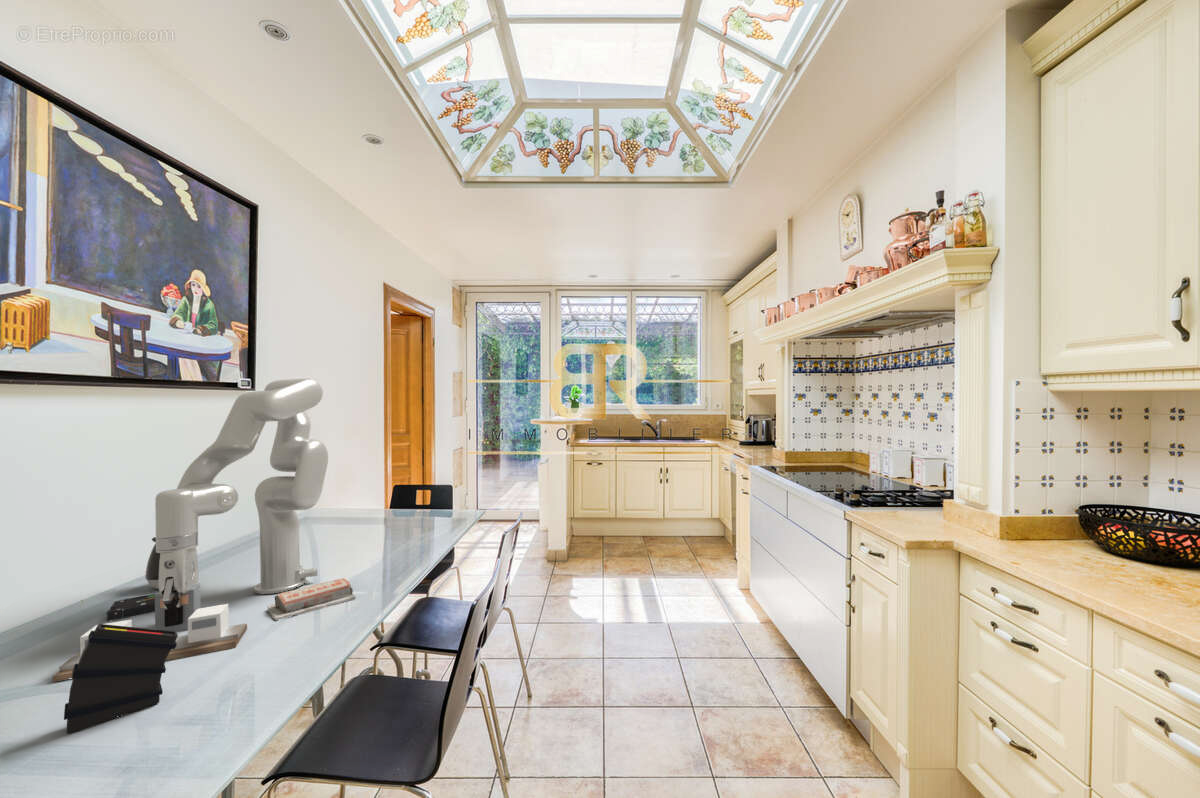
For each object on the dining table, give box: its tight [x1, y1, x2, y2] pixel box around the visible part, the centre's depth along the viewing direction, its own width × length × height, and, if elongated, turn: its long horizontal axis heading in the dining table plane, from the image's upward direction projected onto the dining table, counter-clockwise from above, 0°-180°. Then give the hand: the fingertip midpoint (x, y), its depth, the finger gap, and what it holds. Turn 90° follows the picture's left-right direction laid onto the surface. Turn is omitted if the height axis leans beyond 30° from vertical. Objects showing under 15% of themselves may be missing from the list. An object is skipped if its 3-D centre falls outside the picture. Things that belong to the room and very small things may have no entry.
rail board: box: [52, 623, 248, 683], centre depth 101 cm, size 28×10×2 cm, turn 115°
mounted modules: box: [79, 603, 230, 658], centre depth 101 cm, size 22×6×5 cm, turn 115°
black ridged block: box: [63, 623, 179, 735], centre depth 80 cm, size 4×13×15 cm, turn 136°
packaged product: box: [267, 578, 356, 621], centre depth 125 cm, size 18×5×10 cm
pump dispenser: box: [144, 536, 160, 590], centre depth 144 cm, size 10×10×15 cm
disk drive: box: [106, 592, 158, 622], centre depth 128 cm, size 10×3×15 cm
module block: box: [154, 583, 201, 633], centre depth 114 cm, size 7×5×9 cm
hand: (178, 619), depth 114 cm, fingers closed on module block, 4 cm apart
